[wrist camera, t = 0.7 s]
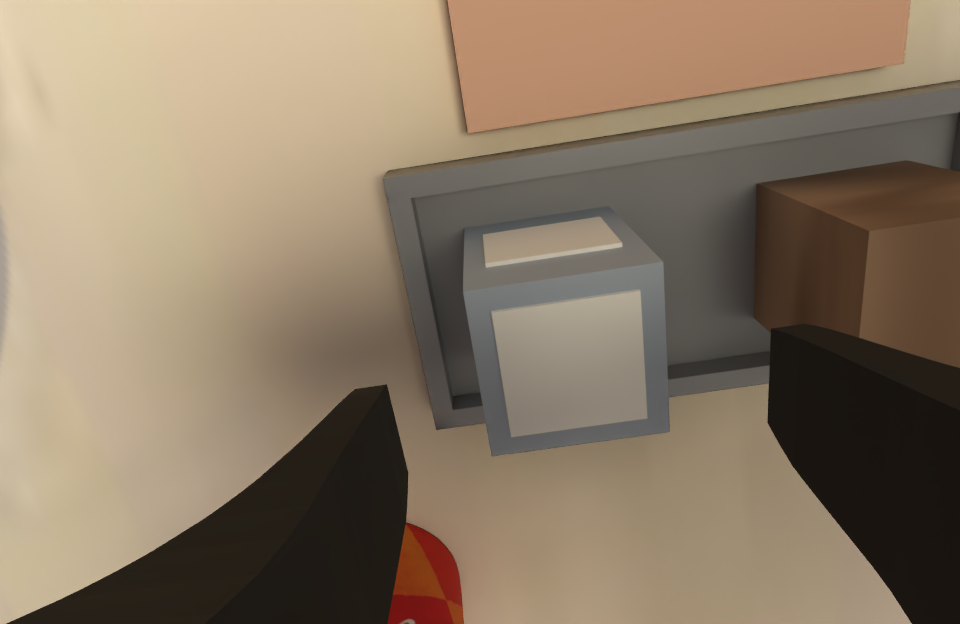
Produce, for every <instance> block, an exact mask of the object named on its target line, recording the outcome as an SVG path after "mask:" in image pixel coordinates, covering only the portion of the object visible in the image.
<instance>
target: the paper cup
mask: <svg viewBox="0 0 960 624" xmlns="http://www.w3.org/2000/svg"><path fill="white" fill-rule="evenodd" d="M388 624H464V619H463V606H462V594H461V585H460V577H459V572H458V568H457V565H456V562H455V560H454V558H453V556H452V554H451V552H450V551H449V550H448V548H447V547H446V546H445V545H444V544H443V543H442V542H441V541H440V540H439V539H437V538H436V537H435V536H433V535H432V534H430V533H429V532H427V531H425V530H423V529H421V528H419V527H417V526H414V525H411V524H408V523H406V524H405V530H404V536H403V542H402V547H401V553H400V559H399V564H398V570H397V575H396V581H395V586H394V592H393V597H392V603H391V608H390V614H389V619H388Z"/></svg>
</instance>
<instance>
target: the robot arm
mask: <svg viewBox="0 0 960 624" xmlns="http://www.w3.org/2000/svg"><path fill="white" fill-rule="evenodd" d="M768 424H769V426H770V428H771V430H772V432H773V433H774V435H775V437H776V439H777V440H778V442H779V444H780V446H781V448H782V449H783V451H784V453H785V454H786V456H787V457H788V459H789V461H790V462H791V464H792V466H793V467H794V468H795V470H796V471H797V472H798V474H799V475H800V476H801V478H802V479H803V480H804V481H805V483H806V484H807V485H808V487H809V488H810V489H811V490H812V492H813V493H814V494H815V495H816V497H817V498H818V499H819V500H820V502H821V503H822V504H823V505H824V507H825V508H826V509H827V510H828V512H829V513H830V514H831V515H832V517H833V518H834V519H835V520H836V522H837V523H838V524H839V525H840V527H841V528H842V529H843V530H844V531H845V533H846V534H847V535H848V536H849V538H850V539H851V540H852V541H853V543H854V544H855V545H856V546H857V548H858V549H859V550H860V551H861V553H862V554H863V555H864V556H865V558H866V559H867V560H868V561H869V563H870V564H871V565H872V566H873V568H874V569H875V570H876V572H877V573H878V574H879V576H880V577H881V578H882V580H883V581H884V583H885V584H886V585H887V587H888V588H889V589H890V591H891V592H892V594H893V595H894V597H895V598H896V600H897V601H898V603H899V604H900V606H901V608H902V609H903V611H904V612H905V614H906V615H907V617H908V618H909V620H910V621H911V623H912V624H960V368H958V367H954V366H951V365H947V364H944V363H940V362H937V361H933V360H930V359H927V358H923V357H920V356H917V355H913V354H910V353H907V352H903V351H900V350H897V349H894V348H891V347H887V346H884V345H881V344H878V343H874V342H871V341H868V340H865V339H862V338H858V337H855V336H852V335H848V334H845V333H842V332H838V331H835V330H831V329H827V328H823V327H819V326H815V325H809V324H799V325H792V326H785V327H778V328H771V339H770V368H769V397H768ZM407 494H408V470H407V466H406V462H405V458H404V454H403V450H402V445H401V441H400V437H399V433H398V429H397V425H396V421H395V416H394V412H393V408H392V404H391V400H390V396H389V392H388V387H387V385H381V386H374V387H367V388H360V389H355V390H354V391H352V392H351V393H350V394H349V395H348V396H347V397H346V398H345V399H343V400H342V401H341V402H340V403H339V404H338V405H337V406H336V407H335V408H334V409H333V410H332V411H331V412H330V413H329V414H328V415H327V416H326V417H325V418H324V419H323V420H322V421H321V422H320V423H319V424H318V425H317V426H316V427H315V428H314V429H313V430H312V431H311V432H310V433H309V434H308V435H307V436H306V437H305V438H304V439H303V440H301V441H300V442H299V443H298V444H297V445H296V446H295V447H294V448H293V449H292V450H291V451H289V452H288V453H287V454H286V455H285V456H284V457H283V458H281V459H280V460H279V461H278V462H277V463H276V464H275V465H273V466H272V467H271V468H270V469H269V470H268V471H267V472H266V473H264V474H263V475H262V476H261V477H260V478H259V479H257V480H256V481H255V482H254V483H252V484H251V485H250V486H249V487H247V488H246V489H245V490H243V491H242V492H241V493H240V494H238V495H237V496H236V497H234V498H233V499H231V500H230V501H229V502H227V503H226V504H224V505H223V506H222V507H220V508H219V509H218V510H216V511H215V512H213V513H212V514H211V515H209V516H208V517H206V518H205V519H203V520H202V521H200V522H198V523H197V524H195V525H194V526H192V527H190V528H189V529H187V530H186V531H184V532H182V533H181V534H179V535H178V536H176V537H174V538H173V539H171V540H170V541H168V542H166V543H165V544H163V545H162V546H160V547H158V548H157V549H155V550H154V551H152V552H150V553H148V554H147V555H145V556H143V557H141V558H140V559H138V560H136V561H134V562H132V563H131V564H129V565H127V566H125V567H123V568H122V569H120V570H118V571H116V572H114V573H112V574H110V575H108V576H106V577H104V578H103V579H101V580H99V581H97V582H95V583H93V584H91V585H89V586H87V587H85V588H83V589H81V590H79V591H77V592H75V593H73V594H71V595H69V596H67V597H65V598H63V599H60V600H58V601H56V602H54V603H52V604H49V605H47V606H45V607H43V608H40V609H38V610H36V611H34V612H31V613H29V614H27V615H25V616H23V617H20V618H18V619H16V620H14V621H11V622H9V623H7V624H388V619H389V614H390V608H391V603H392V597H393V592H394V586H395V581H396V575H397V570H398V564H399V559H400V553H401V547H402V542H403V536H404V530H405V524H406V515H407Z"/></svg>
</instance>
